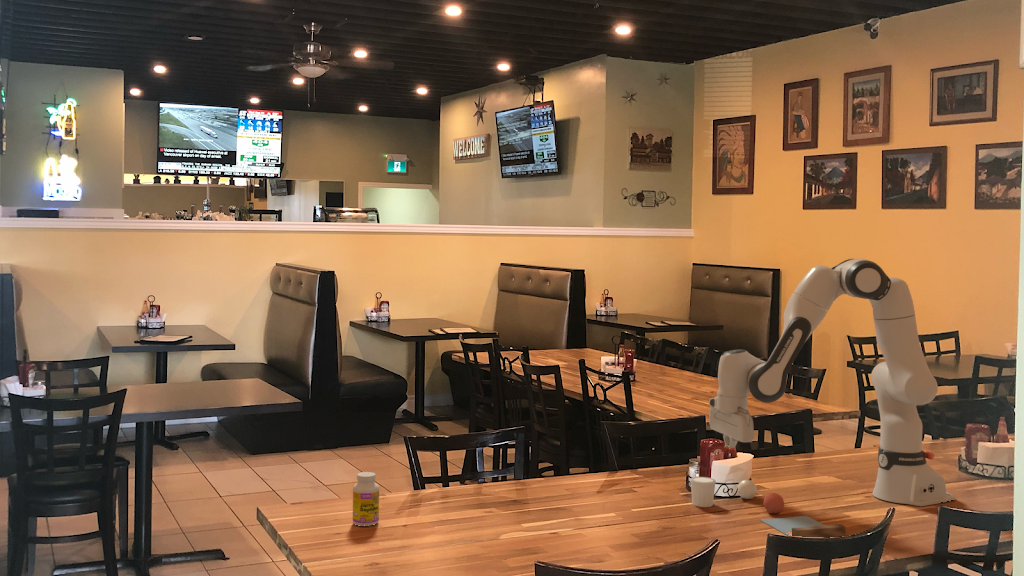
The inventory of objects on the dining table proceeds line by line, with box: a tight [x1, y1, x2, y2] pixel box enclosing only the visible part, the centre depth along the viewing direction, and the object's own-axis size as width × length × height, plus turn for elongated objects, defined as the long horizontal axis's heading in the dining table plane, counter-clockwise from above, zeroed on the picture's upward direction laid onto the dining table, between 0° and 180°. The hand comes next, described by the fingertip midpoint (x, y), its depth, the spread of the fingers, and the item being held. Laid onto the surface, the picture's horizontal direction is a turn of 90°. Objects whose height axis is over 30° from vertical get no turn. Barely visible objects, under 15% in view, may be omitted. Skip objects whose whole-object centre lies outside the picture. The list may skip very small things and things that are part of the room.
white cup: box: [690, 476, 717, 508], centre depth 254 cm, size 7×7×7 cm
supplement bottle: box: [352, 471, 380, 526], centre depth 233 cm, size 7×7×13 cm
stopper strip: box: [792, 523, 846, 538], centre depth 227 cm, size 14×2×2 cm, turn 106°
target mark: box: [760, 515, 825, 536], centre depth 235 cm, size 14×14×1 cm
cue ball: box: [737, 479, 758, 500], centre depth 260 cm, size 5×5×5 cm
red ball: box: [763, 492, 785, 514], centre depth 246 cm, size 5×5×5 cm
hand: (730, 450), depth 269 cm, fingers closed
